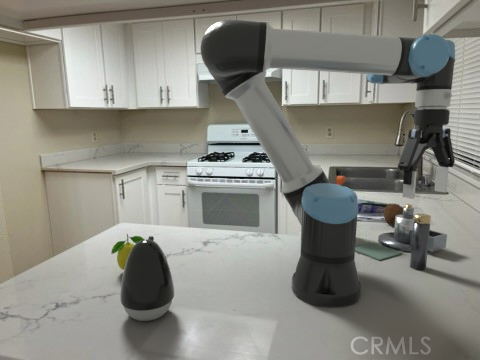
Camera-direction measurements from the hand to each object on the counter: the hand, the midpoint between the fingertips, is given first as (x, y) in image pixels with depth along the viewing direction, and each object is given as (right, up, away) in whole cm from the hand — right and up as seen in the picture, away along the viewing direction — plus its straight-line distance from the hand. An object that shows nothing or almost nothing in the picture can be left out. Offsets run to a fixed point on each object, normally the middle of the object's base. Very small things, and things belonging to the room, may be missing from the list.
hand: (424, 194), depth 90 cm
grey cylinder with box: (+7, -15, +18) cm, 25 cm away
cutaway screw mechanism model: (-15, -15, +28) cm, 35 cm away
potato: (+10, -13, +40) cm, 44 cm away
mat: (-7, -17, +14) cm, 23 cm away
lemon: (-74, -20, 0) cm, 77 cm away
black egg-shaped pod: (-65, -23, -19) cm, 71 cm away
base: (+5, -16, +21) cm, 27 cm away
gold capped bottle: (0, -19, +3) cm, 19 cm away
